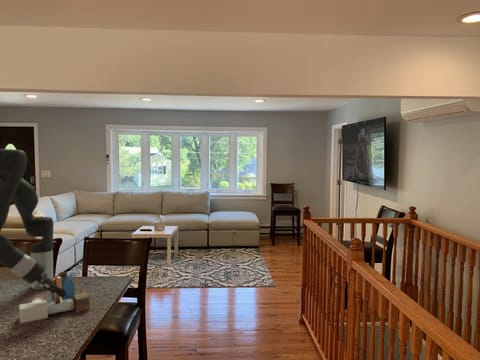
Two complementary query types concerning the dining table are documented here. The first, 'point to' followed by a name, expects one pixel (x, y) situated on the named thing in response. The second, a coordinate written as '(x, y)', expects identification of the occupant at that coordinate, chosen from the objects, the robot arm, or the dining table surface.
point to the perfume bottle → (66, 287)
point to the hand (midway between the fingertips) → (63, 293)
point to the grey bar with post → (59, 301)
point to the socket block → (81, 302)
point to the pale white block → (33, 311)
